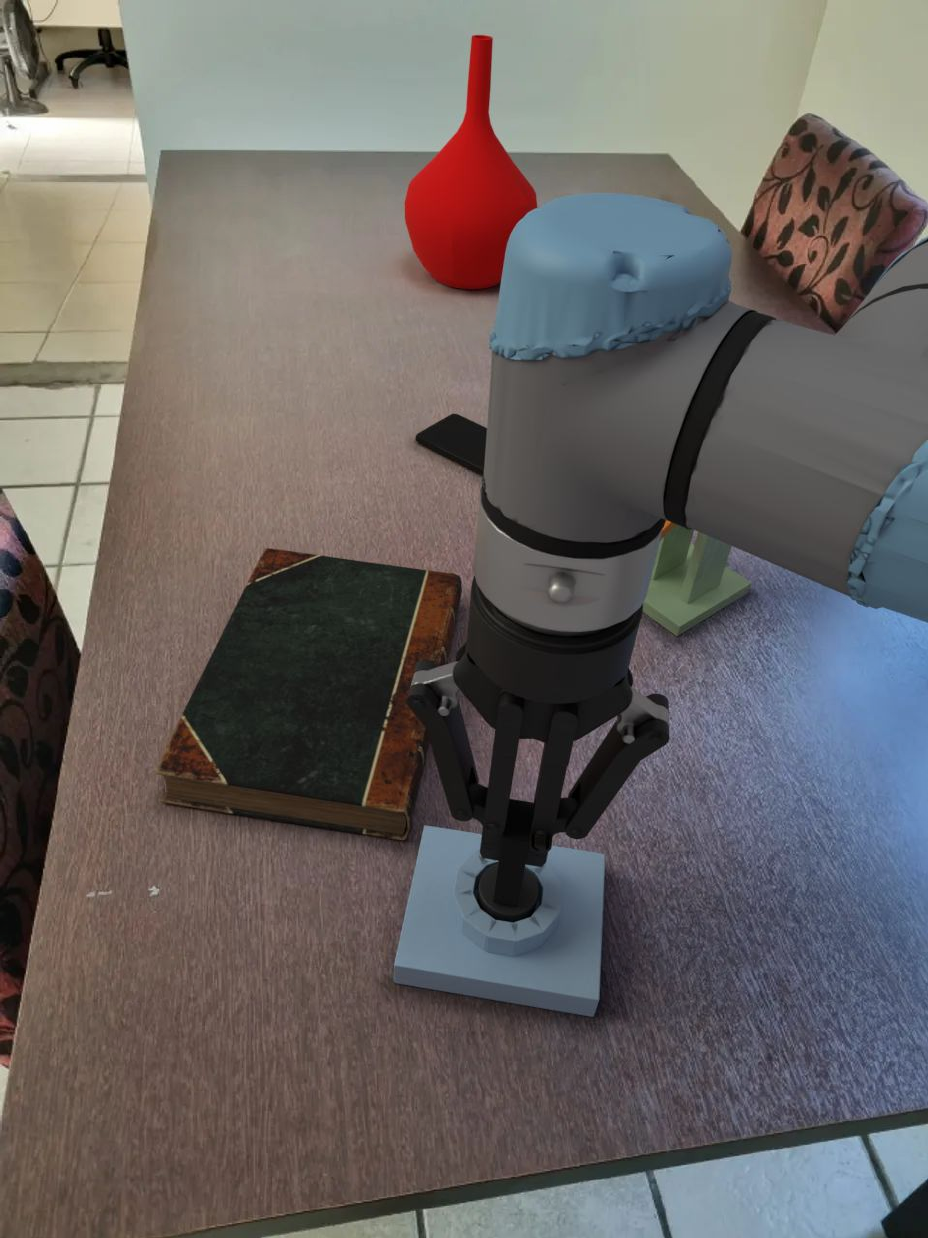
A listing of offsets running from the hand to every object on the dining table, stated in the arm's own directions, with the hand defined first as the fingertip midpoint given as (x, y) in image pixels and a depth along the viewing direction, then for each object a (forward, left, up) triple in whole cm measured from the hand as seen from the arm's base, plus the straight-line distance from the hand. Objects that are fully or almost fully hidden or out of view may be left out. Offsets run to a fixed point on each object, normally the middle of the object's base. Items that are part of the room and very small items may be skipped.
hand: (507, 884), depth 56 cm
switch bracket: (-12, -36, -5) cm, 38 cm away
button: (0, 0, -2) cm, 2 cm away
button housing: (0, 0, -5) cm, 5 cm away
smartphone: (+8, -54, -5) cm, 55 cm away
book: (+16, -17, -5) cm, 24 cm away
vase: (+17, -101, -5) cm, 103 cm away
